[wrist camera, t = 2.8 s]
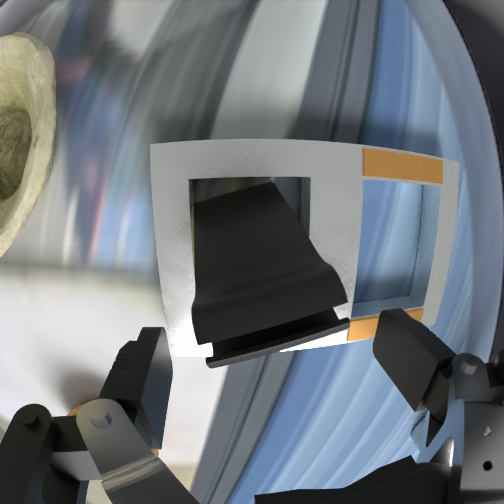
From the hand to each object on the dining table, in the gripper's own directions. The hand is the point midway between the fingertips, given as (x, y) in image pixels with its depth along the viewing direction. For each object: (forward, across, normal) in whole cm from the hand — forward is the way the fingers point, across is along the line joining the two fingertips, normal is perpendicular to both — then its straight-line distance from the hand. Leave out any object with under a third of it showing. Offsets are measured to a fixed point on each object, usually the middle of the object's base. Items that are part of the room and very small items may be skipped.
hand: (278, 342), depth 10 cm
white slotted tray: (+13, -6, 0) cm, 14 cm away
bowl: (+13, +20, -10) cm, 26 cm away
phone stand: (+13, 0, 0) cm, 13 cm away
